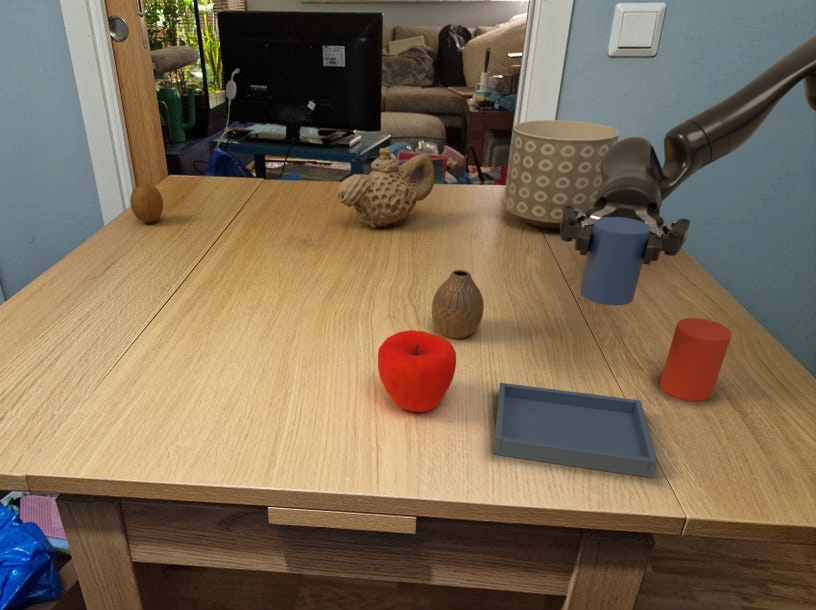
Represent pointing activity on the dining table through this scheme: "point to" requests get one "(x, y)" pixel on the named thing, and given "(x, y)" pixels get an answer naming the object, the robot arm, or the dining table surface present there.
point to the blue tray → (574, 430)
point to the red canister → (695, 359)
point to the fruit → (146, 203)
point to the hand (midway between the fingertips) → (615, 250)
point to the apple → (416, 369)
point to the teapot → (387, 189)
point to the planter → (555, 168)
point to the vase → (457, 306)
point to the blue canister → (614, 260)
